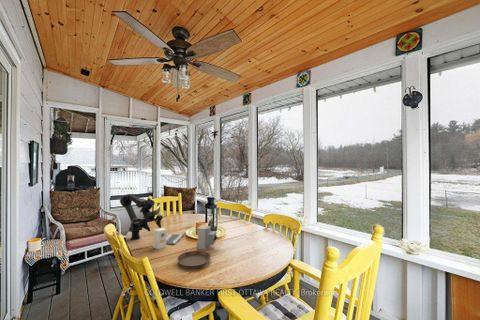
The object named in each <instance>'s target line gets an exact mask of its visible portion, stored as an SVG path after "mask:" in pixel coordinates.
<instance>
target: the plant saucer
mask: <svg viewBox="0 0 480 320" xmlns="http://www.w3.org/2000/svg"><path fill="white" fill-rule="evenodd" d="M210 260H211V255H210V253H208V252H207V251H202V250H190V251H186V252H183V253H181V254H180V255H178V256H177V260H176V261H177V263H178V264H179V265H180V266H181V267H183V268H185V269H198V268H202V267H204V266H206V265H207V264H208V263H209V261H210Z"/></svg>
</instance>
